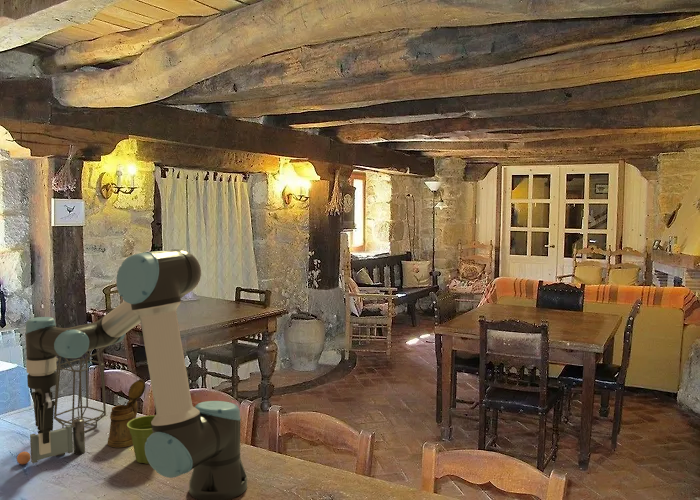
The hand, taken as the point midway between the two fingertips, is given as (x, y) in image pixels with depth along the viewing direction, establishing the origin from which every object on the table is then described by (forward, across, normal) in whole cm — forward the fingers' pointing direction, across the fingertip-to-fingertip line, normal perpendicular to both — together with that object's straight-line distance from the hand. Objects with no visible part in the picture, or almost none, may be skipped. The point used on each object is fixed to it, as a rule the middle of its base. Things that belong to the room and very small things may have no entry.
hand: (45, 452), depth 175 cm
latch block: (+4, +6, -6) cm, 9 cm away
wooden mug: (+4, +3, -26) cm, 26 cm away
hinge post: (+4, +3, -10) cm, 12 cm away
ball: (+4, +6, +5) cm, 9 cm away
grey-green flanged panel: (+3, +3, -3) cm, 5 cm away
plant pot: (+4, -15, -24) cm, 29 cm away
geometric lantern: (+4, +22, -18) cm, 29 cm away
